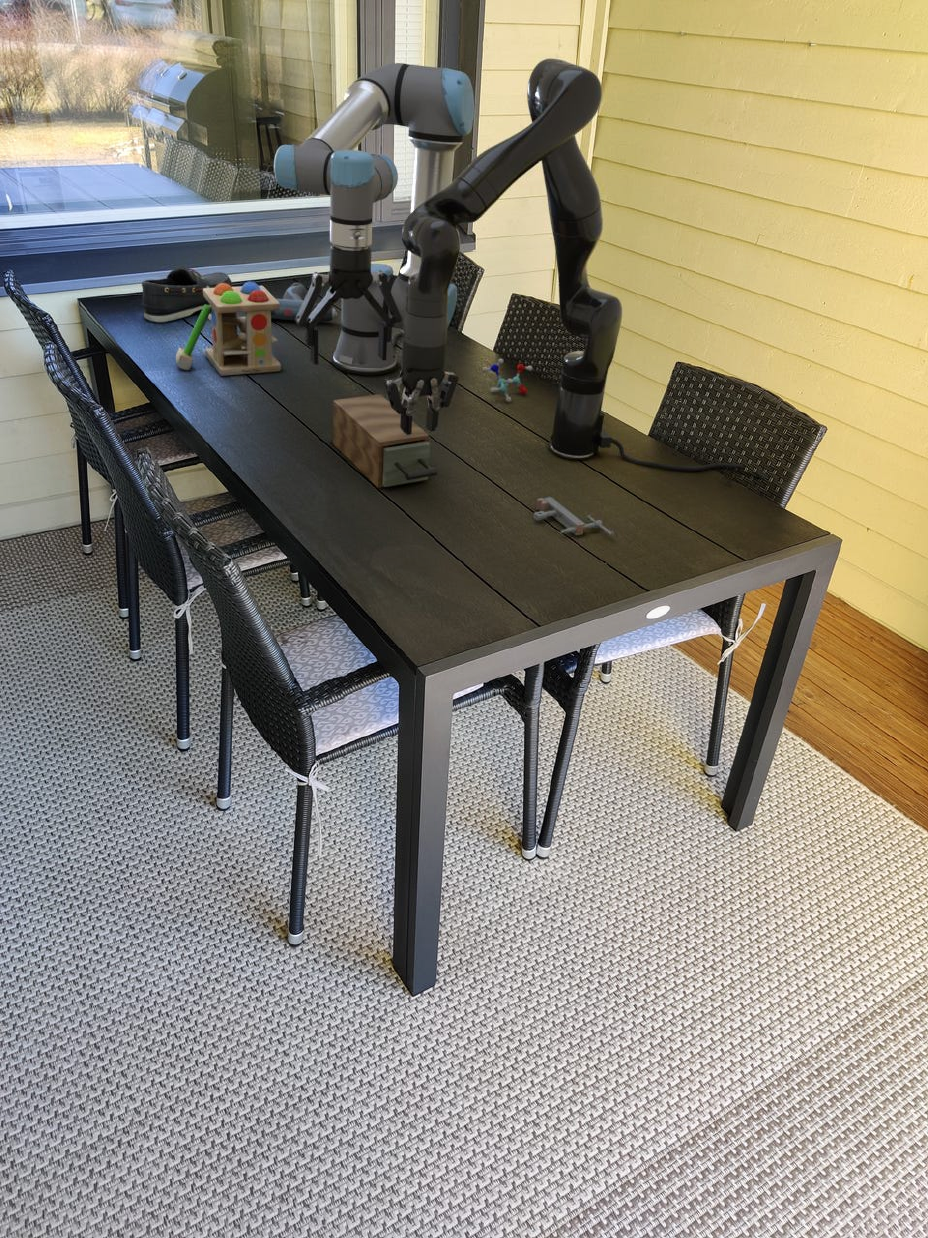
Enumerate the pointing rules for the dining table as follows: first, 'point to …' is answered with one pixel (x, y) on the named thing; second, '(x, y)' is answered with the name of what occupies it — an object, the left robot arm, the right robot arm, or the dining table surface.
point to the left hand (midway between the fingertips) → (348, 360)
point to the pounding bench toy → (229, 347)
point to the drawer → (406, 463)
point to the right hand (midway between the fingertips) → (418, 430)
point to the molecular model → (503, 383)
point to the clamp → (565, 517)
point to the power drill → (296, 304)
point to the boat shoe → (178, 294)
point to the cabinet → (369, 432)
